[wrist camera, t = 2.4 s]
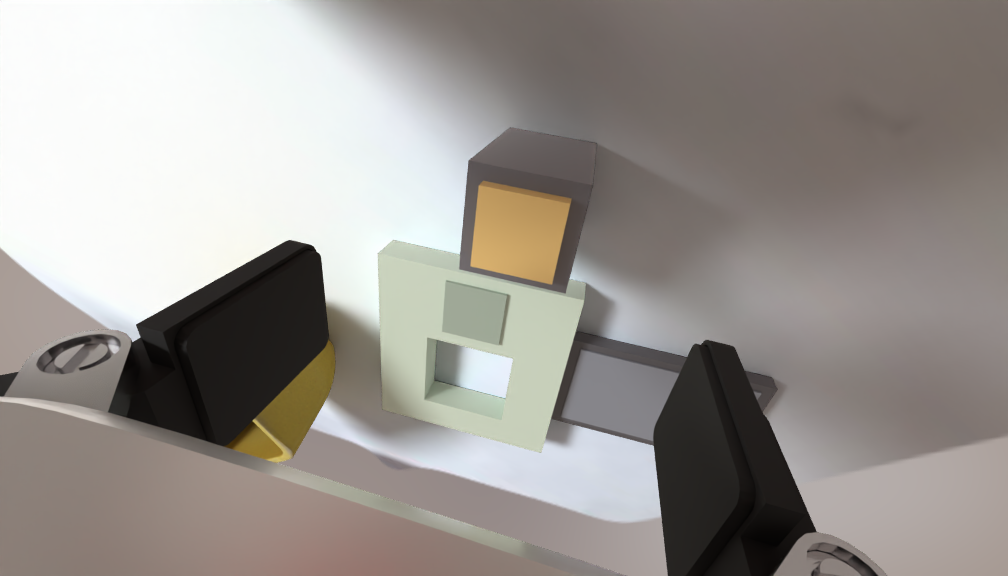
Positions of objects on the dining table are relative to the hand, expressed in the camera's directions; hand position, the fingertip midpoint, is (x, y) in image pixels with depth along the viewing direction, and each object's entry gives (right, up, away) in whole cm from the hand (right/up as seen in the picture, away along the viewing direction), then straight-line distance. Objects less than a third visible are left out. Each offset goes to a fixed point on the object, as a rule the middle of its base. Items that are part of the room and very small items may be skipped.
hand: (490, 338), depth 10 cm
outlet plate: (-2, -3, +18) cm, 18 cm away
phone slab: (+10, -6, +17) cm, 20 cm away
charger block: (+3, +7, +11) cm, 14 cm away
